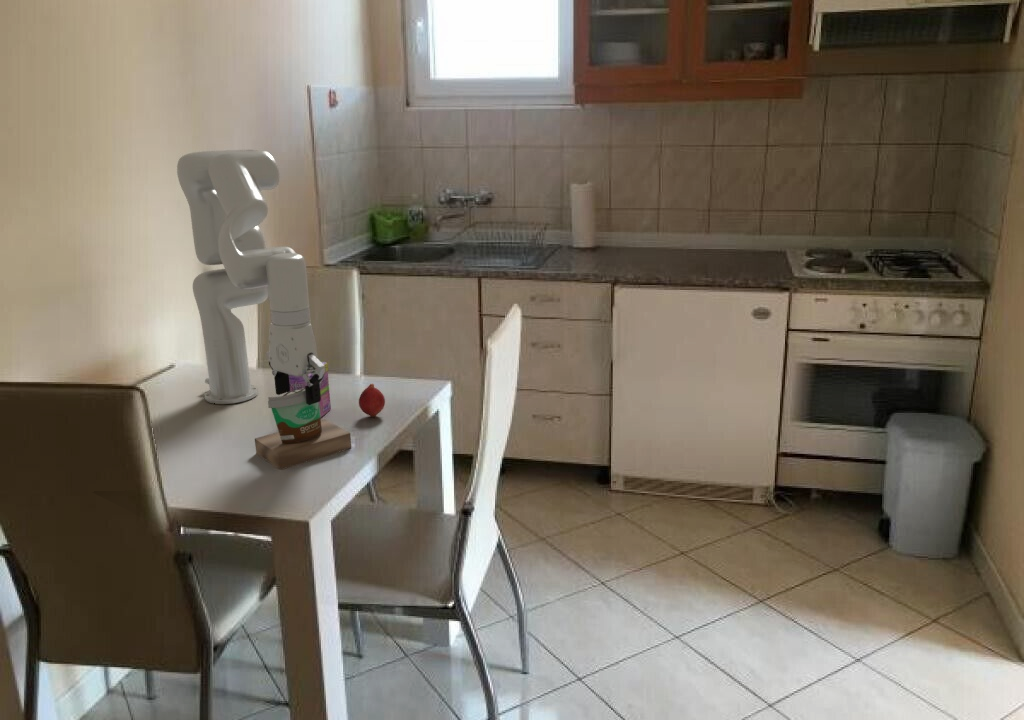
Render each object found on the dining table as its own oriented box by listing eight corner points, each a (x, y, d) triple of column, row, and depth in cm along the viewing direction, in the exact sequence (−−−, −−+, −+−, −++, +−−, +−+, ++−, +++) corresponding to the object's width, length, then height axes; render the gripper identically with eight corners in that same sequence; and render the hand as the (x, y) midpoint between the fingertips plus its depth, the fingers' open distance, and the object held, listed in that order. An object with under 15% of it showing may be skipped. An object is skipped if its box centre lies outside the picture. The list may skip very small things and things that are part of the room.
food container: (299, 446, 167) (289, 398, 164) (277, 445, 170) (266, 398, 167) (340, 426, 177) (331, 380, 175) (318, 425, 180) (308, 380, 178)
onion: (363, 423, 190) (361, 389, 188) (357, 414, 195) (354, 382, 193) (388, 418, 192) (386, 385, 190) (382, 411, 197) (379, 378, 195)
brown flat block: (256, 456, 175) (254, 438, 174) (326, 436, 185) (324, 419, 184) (280, 472, 167) (278, 453, 166) (351, 450, 177) (350, 432, 175)
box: (313, 425, 189) (308, 375, 186) (289, 424, 191) (284, 374, 187) (332, 409, 199) (327, 361, 196) (309, 408, 200) (304, 360, 197)
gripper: (248, 314, 170) (256, 394, 175) (303, 327, 159) (311, 412, 165) (278, 306, 175) (286, 384, 180) (334, 319, 165) (340, 401, 170)
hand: (298, 397), depth 173 cm, fingers open, 9 cm apart
